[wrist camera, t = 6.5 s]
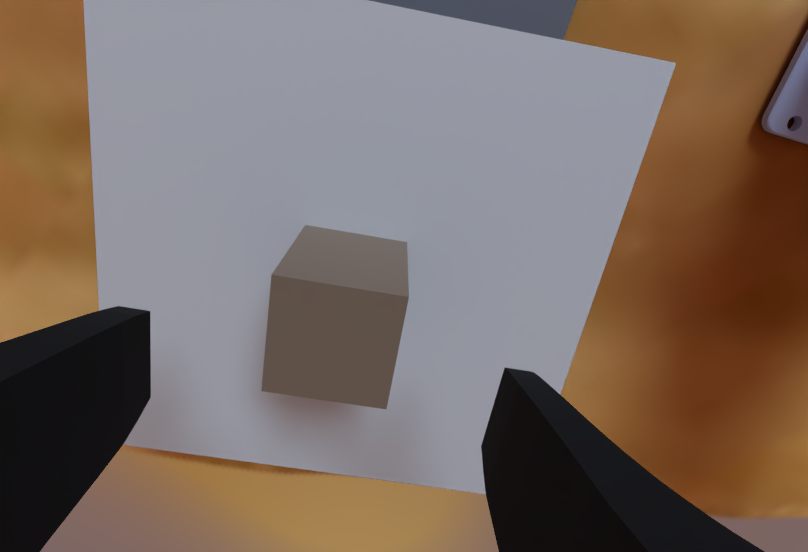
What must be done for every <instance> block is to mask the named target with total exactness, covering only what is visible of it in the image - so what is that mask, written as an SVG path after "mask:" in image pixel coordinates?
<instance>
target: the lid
mask: <svg viewBox="0 0 808 552" xmlns="http://www.w3.org/2000/svg"><path fill="white" fill-rule="evenodd" d="M84 20H85V40H86V59H87V79H88V99H89V119H90V138H91V158H92V178H93V197H94V217H95V237H96V256H97V276H98V296H99V311H100V310H104V309H108V308H112V307H117V306H122V307H128V308H134V309H140V310H147V311H150V353H151V398H150V400H149V401H148V403H147V405H146V407H145V409H144V410H143V412H142V414H141V416H140V418H139V419H138V421H137V423H136V424H135V426H134V428H133V429H132V431H131V433H130V434H129V436H128V438H127V439H126V441H125V442H124V444H123V445H128V446H135V447H142V448H150V449H157V450H165V451H172V452H179V453H187V454H194V455H201V456H209V457H216V458H223V459H231V460H238V461H245V462H253V463H260V464H267V465H275V466H282V467H289V468H297V469H304V470H312V471H319V472H326V473H334V474H341V475H348V476H356V477H363V478H370V479H378V480H385V481H392V482H400V483H407V484H414V485H422V486H429V487H436V488H444V489H451V490H459V491H466V492H474V493H481V494H486V492H485V483H484V474H483V463H482V451H481V445H482V441H483V438H484V435H485V431H486V428H487V425H488V421H489V418H490V415H491V411H492V408H493V405H494V401H495V398H496V395H497V391H498V388H499V385H500V381H501V378H502V375H503V371H504V368H512V369H518V370H524V371H531V372H534V373H535V374H537V375H538V376H539V377H541V378H542V379H543V380H544V381H545V382H546V383H548V384H549V385H550V386H551V387H552V388H553V389H554V390H555V391H557V392H558V393H559V394H561V391H562V388H563V385H564V382H565V379H566V376H567V374H568V371H569V368H570V365H571V362H572V359H573V356H574V354H575V351H576V348H577V345H578V342H579V339H580V336H581V334H582V331H583V328H584V325H585V322H586V319H587V316H588V314H589V311H590V308H591V305H592V302H593V299H594V296H595V294H596V291H597V288H598V285H599V282H600V279H601V276H602V274H603V271H604V268H605V265H606V262H607V259H608V256H609V254H610V251H611V248H612V245H613V242H614V239H615V236H616V233H617V231H618V228H619V225H620V222H621V219H622V216H623V213H624V211H625V208H626V205H627V202H628V199H629V196H630V193H631V191H632V188H633V185H634V182H635V179H636V176H637V173H638V171H639V168H640V165H641V162H642V159H643V156H644V153H645V151H646V148H647V145H648V142H649V139H650V136H651V133H652V131H653V128H654V125H655V122H656V119H657V116H658V113H659V111H660V108H661V105H662V102H663V99H664V96H665V93H666V91H667V88H668V85H669V82H670V79H671V76H672V73H673V71H674V68H675V65H676V63H673V62H668V61H664V60H659V59H654V58H649V57H644V56H639V55H634V54H629V53H624V52H619V51H614V50H610V49H605V48H600V47H595V46H590V45H585V44H580V43H575V42H570V41H565V40H560V39H556V38H551V37H546V36H541V35H536V34H531V33H526V32H521V31H516V30H511V29H506V28H502V27H497V26H492V25H487V24H482V23H477V22H472V21H467V20H462V19H457V18H453V17H448V16H443V15H438V14H433V13H428V12H423V11H418V10H413V9H408V8H403V7H399V6H394V5H389V4H384V3H379V2H374V1H369V0H84Z"/></svg>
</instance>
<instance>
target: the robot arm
mask: <svg viewBox="0 0 808 552" xmlns="http://www.w3.org/2000/svg"><path fill="white" fill-rule="evenodd" d="M792 117H793V118H794V123H793V125H792V127H791V128H789V129H788V127H787V124H788V121H789V120H790V118H792ZM762 127H763V129H764V130H765V131H767V132H768V133H771V134H775V135H778V136H781V137H784V138H788V139H791V140H794V141H797V142H801V143H804V144H807V145H808V29H807V31H806V33H805V35H804V37H803V39H802V41H801V43H800V45H799V47H798V48H797V50H796V52H795V54H794V56H793V58H792V60H791V62H790V64H789V66H788V68H787V70H786V72H785V74H784V76H783V78H782V80H781V82H780V83H779V85H778V87H777V89H776V91H775V93H774V95H773V97H772V99H771V101H770V103H769V105H768V107H767V109H766V111H765V113H764V115H763V117H762ZM150 398H151V353H150V311H147V310H140V309H134V308H128V307H122V306H117V307H112V308H108V309H104V310H100V311H97V312H93V313H90V314H87V315H84V316H80V317H77V318H74V319H71V320H68V321H65V322H62V323H59V324H56V325H53V326H50V327H47V328H44V329H41V330H38V331H35V332H32V333H29V334H26V335H23V336H20V337H17V338H14V339H11V340H8V341H4V342H1V343H0V552H40V551H41V549H42V548H43V546H44V545H45V544H46V543H47V541H48V540H49V539H50V537H51V536H52V535H53V534H54V532H55V531H56V530H57V528H58V527H59V526H60V525H61V523H62V522H63V521H64V520H65V518H66V517H67V516H68V515H69V513H70V512H71V511H72V509H73V508H74V507H75V506H76V504H77V503H78V502H79V501H80V499H81V498H82V497H83V495H84V494H85V493H86V492H87V490H88V489H89V488H90V486H91V485H92V484H93V483H94V481H95V480H96V479H97V478H98V476H99V475H100V474H101V472H102V471H103V470H104V468H105V467H106V466H107V465H108V463H109V462H110V461H111V459H112V458H113V457H114V456H115V454H116V453H117V452H118V450H119V449H120V448H121V446H122V445H123V444H124V442H125V441H126V439H127V438H128V436H129V434H130V433H131V431H132V429H133V428H134V426H135V424H136V423H137V421H138V419H139V418H140V416H141V414H142V412H143V410H144V409H145V407H146V405H147V403H148V401H149V400H150ZM481 451H482V463H483V474H484V483H485V492H486V496H487V501H488V505H489V510H490V514H491V519H492V523H493V528H494V532H495V536H496V540H497V545H498V549H499V552H764V551H762V550H761V549H759V548H758V547H756V546H754V545H753V544H751V543H749V542H748V541H746V540H745V539H743V538H742V537H740V536H738V535H737V534H735V533H733V532H732V531H730V530H729V529H727V528H726V527H725V526H723V525H721V524H720V523H718V522H717V521H715V520H714V519H712V518H711V517H709V516H708V515H707V514H705V513H704V512H702V511H701V510H700V509H698V508H697V507H695V506H694V505H693V504H691V503H690V502H688V501H687V500H686V499H684V498H683V497H681V496H680V495H679V494H677V493H676V492H674V491H673V490H672V489H670V488H669V487H668V486H666V485H665V484H664V483H662V482H661V481H660V480H658V479H657V478H656V477H654V476H653V475H652V474H651V473H649V472H648V471H647V470H646V469H644V468H643V467H642V466H641V465H640V464H638V463H637V462H636V461H635V460H633V459H632V458H631V457H630V456H628V455H627V454H626V453H625V452H624V451H622V450H621V449H620V448H619V447H618V446H617V445H615V444H614V443H613V442H612V441H611V440H610V439H608V438H607V437H606V436H605V435H604V434H603V433H602V432H600V431H599V430H598V429H597V428H596V427H595V426H594V425H593V424H592V423H590V422H589V421H588V420H587V419H586V418H585V417H584V416H583V415H582V414H581V413H579V412H578V411H577V410H576V409H575V408H574V407H573V406H572V405H571V404H570V403H569V402H567V401H566V400H565V399H564V398H563V397H562V396H561V395H560V394H559V393H558V392H557V391H555V390H554V389H553V388H552V387H551V386H550V385H549V384H548V383H546V382H545V381H544V380H543V379H542V378H541V377H539V376H538V375H537V374H535V373H534V372H531V371H524V370H518V369H512V368H504V371H503V375H502V378H501V381H500V385H499V388H498V391H497V395H496V398H495V401H494V405H493V408H492V411H491V415H490V418H489V421H488V425H487V428H486V431H485V435H484V438H483V441H482V445H481Z"/></svg>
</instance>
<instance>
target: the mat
mask: <svg viewBox="0 0 808 552" xmlns="http://www.w3.org/2000/svg"><path fill="white" fill-rule="evenodd" d="M369 1H374V2H379V3H384V4H389V5H394V6H399V7H403V8H408V9H413V10H418V11H423V12H428V13H433V14H438V15H443V16H448V17H453V18H457V19H462V20H467V21H472V22H477V23H482V24H487V25H492V26H497V27H502V28H506V29H511V30H516V31H521V32H526V33H531V34H536V35H541V36H546V37H551V38H556V39H560V40H563V39H564V36H565V33H566V30H567V27H568V24H569V22H570V19H571V16H572V13H573V10H574V8H575V5H576V2H577V0H369Z"/></svg>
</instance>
